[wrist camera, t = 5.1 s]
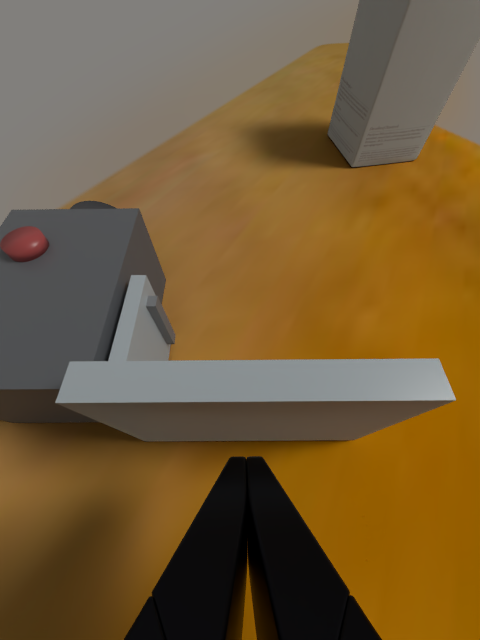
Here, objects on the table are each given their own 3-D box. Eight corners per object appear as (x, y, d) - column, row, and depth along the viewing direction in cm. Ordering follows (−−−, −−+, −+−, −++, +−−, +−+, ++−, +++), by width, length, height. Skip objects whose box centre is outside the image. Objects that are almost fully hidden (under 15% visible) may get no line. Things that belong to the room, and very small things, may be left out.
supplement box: (417, 161, 28) (529, -43, 17) (349, 169, 27) (420, -38, 16) (385, 128, 32) (459, -57, 21) (325, 134, 31) (369, -53, 20)
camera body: (141, 422, 15) (77, 383, 9) (12, 422, 15) (-132, 384, 9) (169, 261, 21) (142, 178, 15) (79, 262, 21) (18, 179, 15)
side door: (353, 440, 14) (456, 400, 7) (143, 441, 14) (51, 403, 7) (330, 330, 17) (386, 233, 11) (161, 331, 17) (110, 236, 11)
